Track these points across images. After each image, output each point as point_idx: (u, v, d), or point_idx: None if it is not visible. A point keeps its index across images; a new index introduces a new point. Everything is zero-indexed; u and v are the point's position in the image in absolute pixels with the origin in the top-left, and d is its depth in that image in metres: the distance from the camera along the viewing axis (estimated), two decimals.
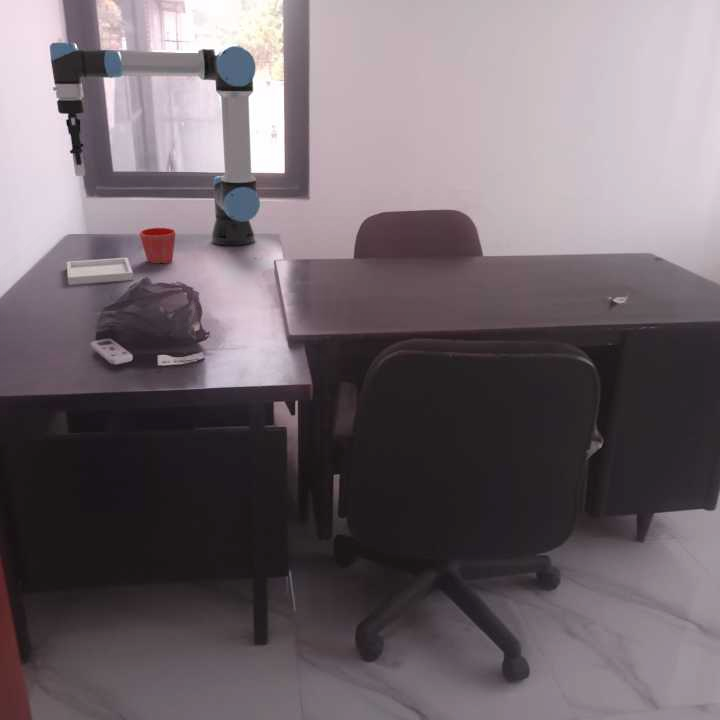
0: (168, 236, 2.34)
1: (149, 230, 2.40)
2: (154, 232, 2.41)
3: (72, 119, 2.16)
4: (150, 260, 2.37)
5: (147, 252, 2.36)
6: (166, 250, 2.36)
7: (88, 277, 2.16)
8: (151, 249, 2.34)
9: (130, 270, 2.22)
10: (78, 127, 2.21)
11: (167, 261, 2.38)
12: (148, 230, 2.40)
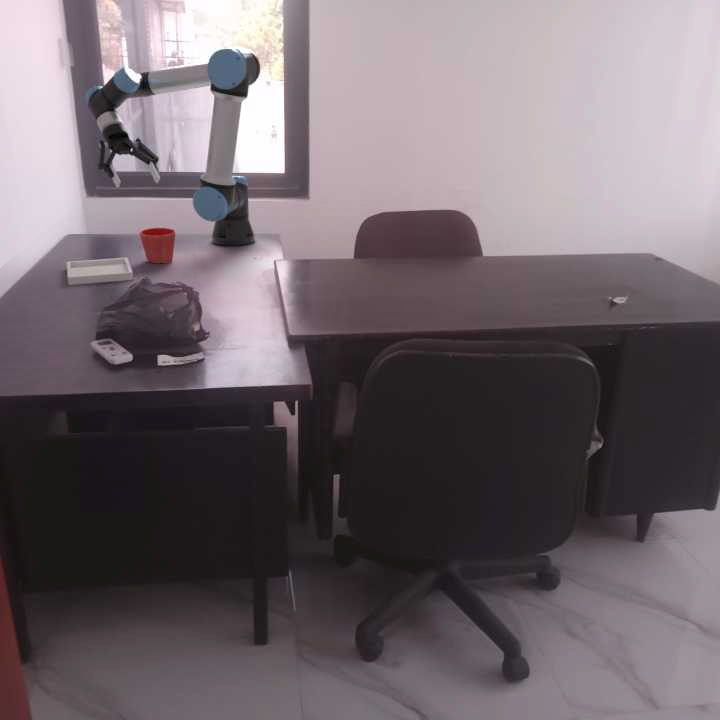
0: (168, 236, 2.34)
1: (149, 230, 2.40)
2: (154, 232, 2.41)
3: (99, 143, 2.37)
4: (150, 260, 2.37)
5: (147, 252, 2.36)
6: (166, 250, 2.36)
7: (88, 277, 2.16)
8: (151, 249, 2.34)
9: (130, 270, 2.22)
10: (113, 147, 2.38)
11: (167, 261, 2.38)
12: (148, 230, 2.40)
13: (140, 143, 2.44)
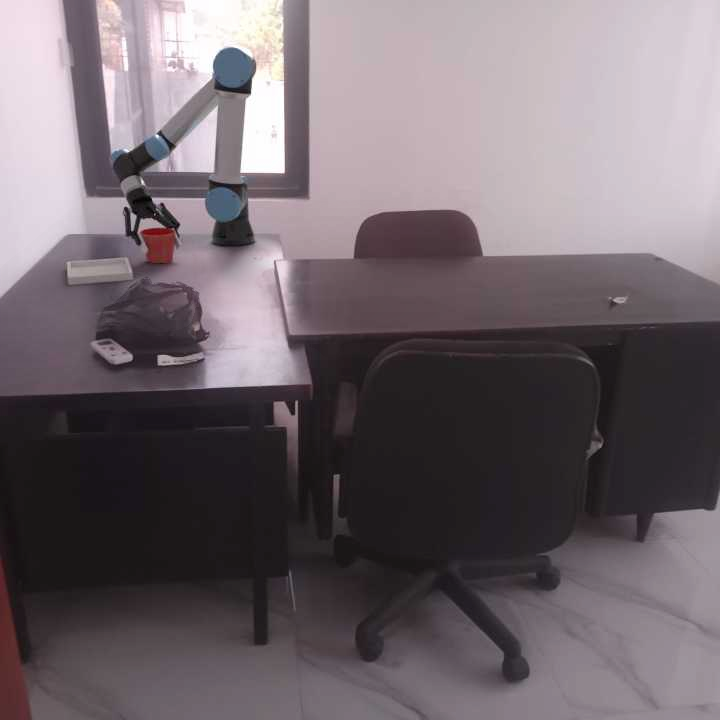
0: (168, 235, 2.34)
1: (149, 230, 2.40)
2: (154, 232, 2.41)
3: (123, 210, 2.36)
4: (150, 260, 2.37)
5: (147, 252, 2.36)
6: (166, 250, 2.36)
7: (88, 277, 2.16)
8: (151, 249, 2.34)
9: (130, 270, 2.22)
10: (138, 212, 2.37)
11: (167, 261, 2.38)
12: (148, 230, 2.39)
13: (163, 208, 2.43)
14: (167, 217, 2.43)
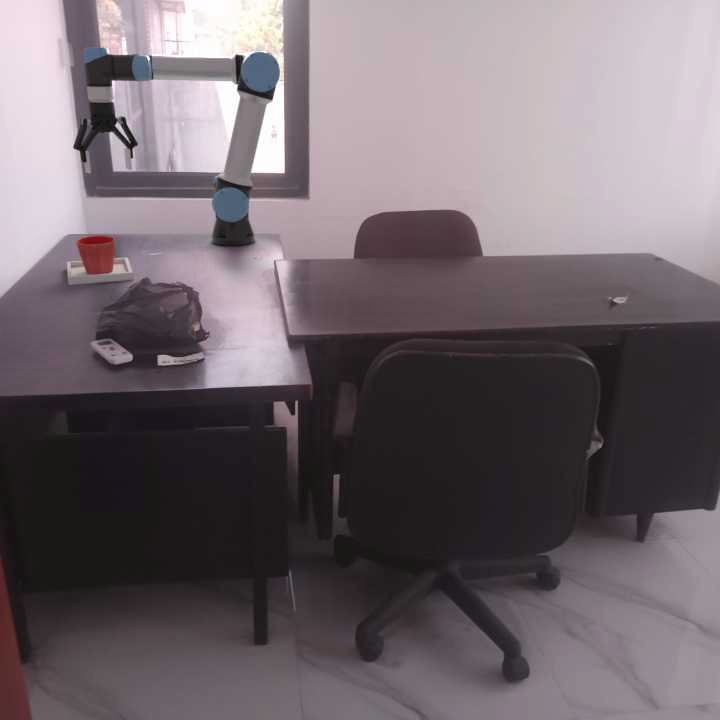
0: (106, 244, 2.18)
1: (88, 238, 2.25)
2: (93, 240, 2.26)
3: (82, 119, 2.29)
4: (88, 270, 2.22)
5: (84, 262, 2.20)
6: (105, 260, 2.20)
7: (88, 277, 2.16)
8: (88, 259, 2.19)
9: (130, 270, 2.22)
10: (95, 128, 2.31)
11: (106, 271, 2.23)
12: (86, 238, 2.24)
13: (124, 124, 2.36)
14: (126, 132, 2.39)
